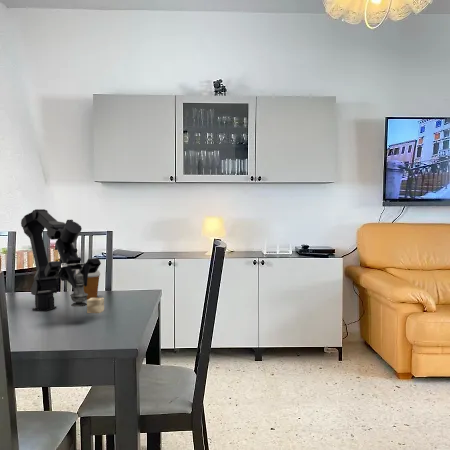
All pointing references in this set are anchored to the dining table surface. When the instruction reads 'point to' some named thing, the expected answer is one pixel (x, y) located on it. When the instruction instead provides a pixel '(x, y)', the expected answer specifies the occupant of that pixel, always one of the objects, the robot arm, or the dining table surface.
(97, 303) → the maple block
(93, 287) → the disposable coffee cup
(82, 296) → the grey tall rounded piece
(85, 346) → the dining table surface
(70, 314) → the dining table surface
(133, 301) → the dining table surface
